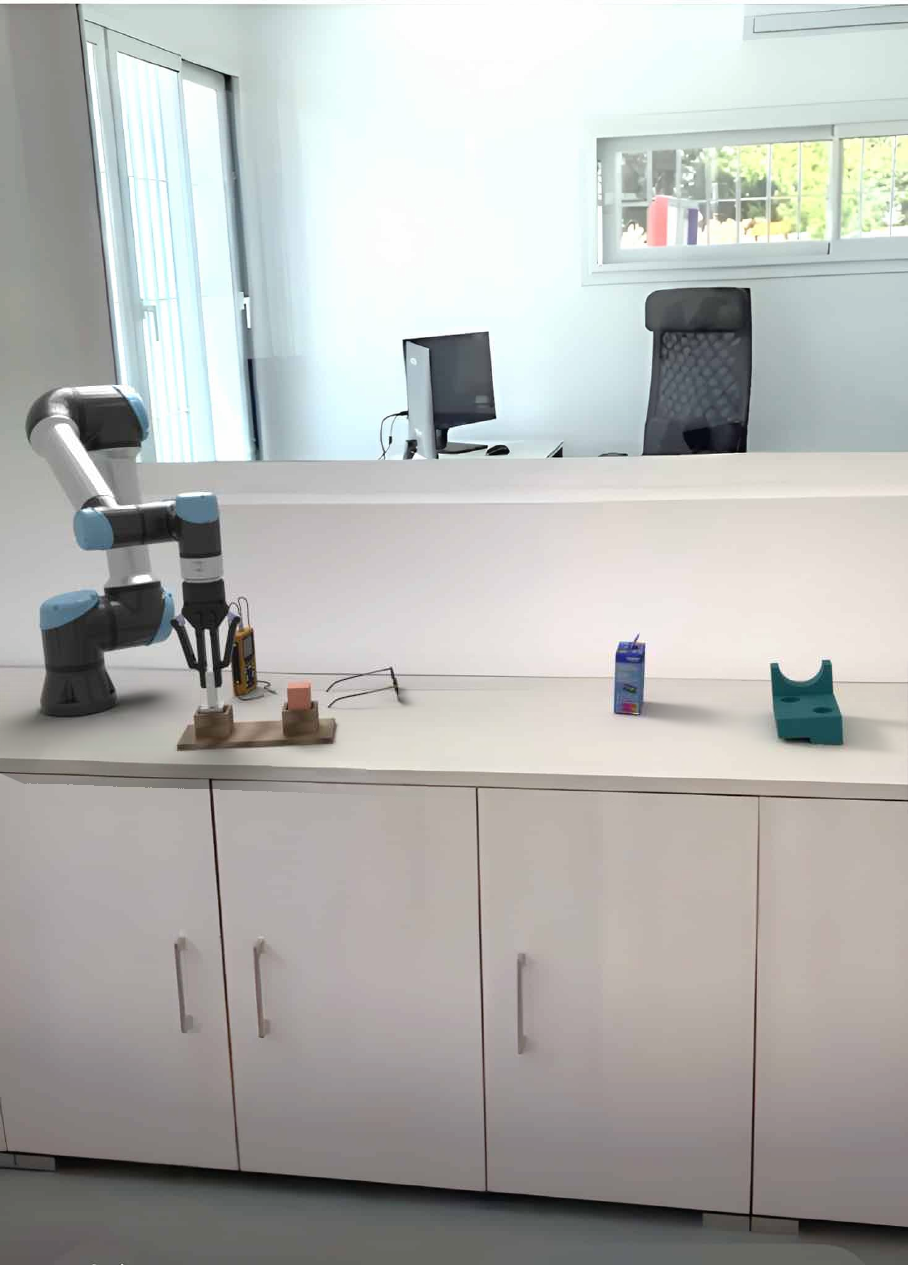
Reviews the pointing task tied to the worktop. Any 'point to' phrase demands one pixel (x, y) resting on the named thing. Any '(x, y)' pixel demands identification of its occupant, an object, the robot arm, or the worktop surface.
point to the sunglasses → (370, 691)
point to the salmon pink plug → (299, 696)
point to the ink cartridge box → (629, 677)
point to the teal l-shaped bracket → (807, 707)
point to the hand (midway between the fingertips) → (213, 704)
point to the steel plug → (213, 708)
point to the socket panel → (257, 730)
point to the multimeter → (244, 660)
